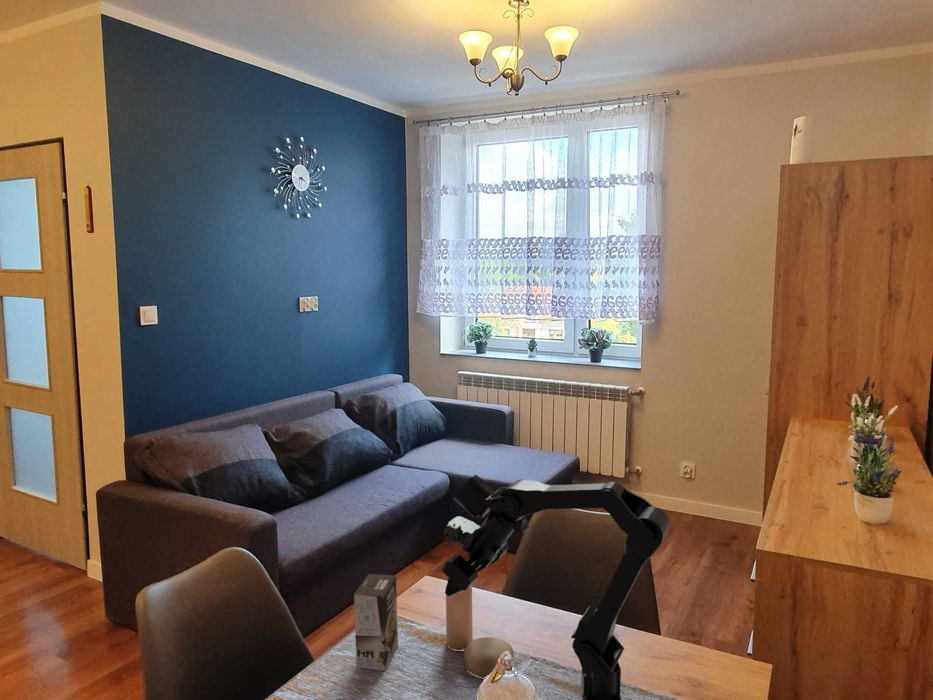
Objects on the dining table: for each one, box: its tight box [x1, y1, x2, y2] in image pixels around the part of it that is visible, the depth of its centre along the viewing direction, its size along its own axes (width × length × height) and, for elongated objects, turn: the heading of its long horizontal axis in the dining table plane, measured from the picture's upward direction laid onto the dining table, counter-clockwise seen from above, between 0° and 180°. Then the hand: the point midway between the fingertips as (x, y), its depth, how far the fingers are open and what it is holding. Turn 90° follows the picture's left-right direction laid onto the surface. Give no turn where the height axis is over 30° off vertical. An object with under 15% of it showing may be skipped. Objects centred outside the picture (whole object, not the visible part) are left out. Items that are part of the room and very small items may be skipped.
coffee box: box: [353, 573, 399, 672], centre depth 136 cm, size 9×6×16 cm
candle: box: [445, 584, 474, 650], centre depth 140 cm, size 6×6×13 cm
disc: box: [463, 636, 514, 678], centre depth 134 cm, size 10×10×3 cm
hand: (458, 584), depth 137 cm, fingers open, 9 cm apart
